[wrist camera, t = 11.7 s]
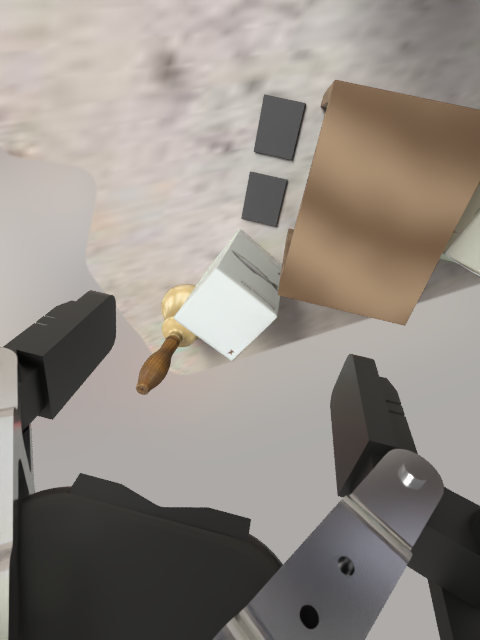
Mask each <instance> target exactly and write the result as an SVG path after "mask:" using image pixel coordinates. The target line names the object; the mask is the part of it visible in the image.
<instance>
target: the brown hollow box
mask: <svg viewBox="0 0 480 640" xmlns="http://www.w3.org/2000/svg"><path fill="white" fill-rule="evenodd" d="M321 107H325V108H327V109H326V113H325V117H324V120H323V124H322V128H321V131H320V135H319V139H318V143H317V146H316V150H315V154H314V158H313V161H312V165H311V169H310V172H309V176H308V180H307V184H306V187H305V191H304V195H303V199H302V202H301V206H300V210H299V213H298V217H297V221H296V225H295V228H294V230H292V229H289V230H288V234H287V239H286V245H285V251H284V257H283V263H282V269H281V276H280V282H279V288H278V294H277V295H280V296H284V297H288V298H292V299H296V300H300V301H305V302H309V303H313V304H317V305H321V306H325V307H330V308H334V309H338V310H342V311H346V312H350V313H355V314H359V315H363V316H367V317H371V318H376V319H380V320H384V321H388V322H392V323H397V324H401V325H405V324H406V323H407V321H408V319H409V317H410V315H411V313H412V311H413V309H414V307H415V305H416V303H417V301H418V299H419V298H420V296H421V294H422V292H423V290H424V288H425V286H426V284H427V282H428V280H429V278H430V276H431V274H432V272H433V270H434V268H435V267H436V265H437V263H438V261H439V259H440V257H441V255H442V253H443V251H444V249H445V247H446V245H447V243H448V241H449V239H450V238H451V236H452V234H453V232H454V230H455V228H456V226H457V224H458V222H459V220H460V218H461V216H462V214H463V212H464V210H465V209H466V207H467V205H468V203H469V201H470V199H471V197H472V195H473V193H474V191H475V189H476V187H477V185H478V183H479V181H480V110H478V109H473V108H468V107H463V106H459V105H454V104H449V103H444V102H439V101H435V100H430V99H425V98H420V97H415V96H411V95H406V94H401V93H396V92H391V91H387V90H382V89H377V88H372V87H367V86H363V85H358V84H353V83H348V82H343V81H339V80H335V81H334V82H333V83H332V85H331V86H330V87H329V88H328V90H327V91H326V92H325V94H324V96H323V100H322V103H321Z"/></svg>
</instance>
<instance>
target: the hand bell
mask: <svg viewBox="0 0 480 640" xmlns="http://www.w3.org/2000/svg"><path fill="white" fill-rule="evenodd" d="M194 288H195V286H194V285H179V286H176V287H173V288H172V289H170V290H169V291H168V292H167V293H166V294H165V296H164V298H163V300H162V305H161V309H162V315H163V318H164V323H163V325H162V333H163V335H164V337H165V339H166V340H165V342H164V343H163V345H162V347H161V348H160V349H159V350H158V351H157V352H155V353H154V354H152V355H151V356H150V357H149V358H148V359H147V360H146V362H145V363H144V365H143V366H142V368H141V370H140V373H139V379H138V384H137V386H136V390H137V392H138V393H140V394H144V395H145V394H147V393H148V392H149V391H150V390H151V389H153V388H154V387H156V386H157V385H158V384H160V383H161V381H162V380H163V379H164V378H165V376H166V374H167V372H168V370H169V367H170V363H171V357H172V355H173V353H174V352H175V350H176V349H177V347H186V346H189V345H191V344H192V343H193V342H194V341H195V340H196V339H199V337H198V336H196V335H195V334H193V333H192V332H191V331H189V330H188V329H187V328H185V327H184V326H182V325H181V324H180V323H178V322H177V321H176V320H175V319H174V316H175V315H176V313H177V312H178V311H179V310H180V308H181V307H182V305H183V304H184V303H185V301H186V300H187V298H188V297H189V295H190V294H191V292H192V291H193V289H194Z"/></svg>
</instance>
